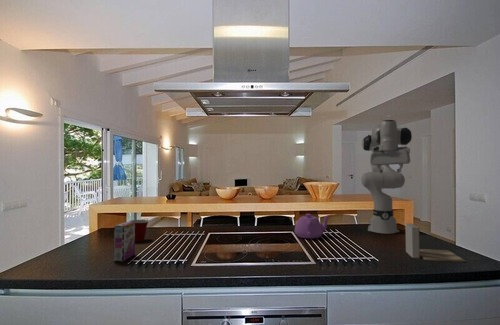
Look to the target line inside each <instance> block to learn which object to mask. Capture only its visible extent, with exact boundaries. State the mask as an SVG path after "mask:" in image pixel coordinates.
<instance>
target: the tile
mask: <svg viewBox="0 0 500 325" xmlns="http://www.w3.org/2000/svg"><path fill="white" fill-rule="evenodd" d="M404 230H405V252H406V253H407V254H408V255H409V257H411V258H412V259H421V257H420V249H421V248H420V247H421V246H420V241H421V240H420V227H419V226H417V225H415V224H414V223H409V222H408V223H407V222H406V223H405V229H404Z"/></svg>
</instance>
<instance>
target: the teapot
mask: <svg viewBox="0 0 500 325" xmlns="http://www.w3.org/2000/svg"><path fill="white" fill-rule="evenodd" d="M330 216H331V214H328V215H326V216H324V217H323V218H324V219H323V224H321V222H320V220H319V219H318V217H316V216H313V215H312V214H311V213H305V216H301V217H299V218H298V220H297V221H296V224H295V226H294V233H295V235H296V236H297V237H299V238H301V239H314V238H315V239H318V238H320V237H321V236H322V235H323V234H324V231H326V230H327V228H328V218H329V217H330Z"/></svg>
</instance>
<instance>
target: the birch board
mask: <svg viewBox="0 0 500 325" xmlns="http://www.w3.org/2000/svg"><path fill="white" fill-rule="evenodd" d="M420 259H422V260H424V261H432V262H448V263H464V262H465V263H466V260H465V259H464V258H462V257H460V256H459V255H457V254H456V253H454V252H452V251H451V250H449V249H448V250H447V249H430V248H429V249H428V248H425V249H424V248H420Z"/></svg>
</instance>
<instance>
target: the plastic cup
mask: <svg viewBox="0 0 500 325" xmlns="http://www.w3.org/2000/svg"><path fill="white" fill-rule="evenodd" d="M129 222H135V242H136V243H139V242H144V241H145V238H146V234H147V226H148V224H149V222H150V220H148V219H147V220H146V219H131V220H130V221H129Z"/></svg>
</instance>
